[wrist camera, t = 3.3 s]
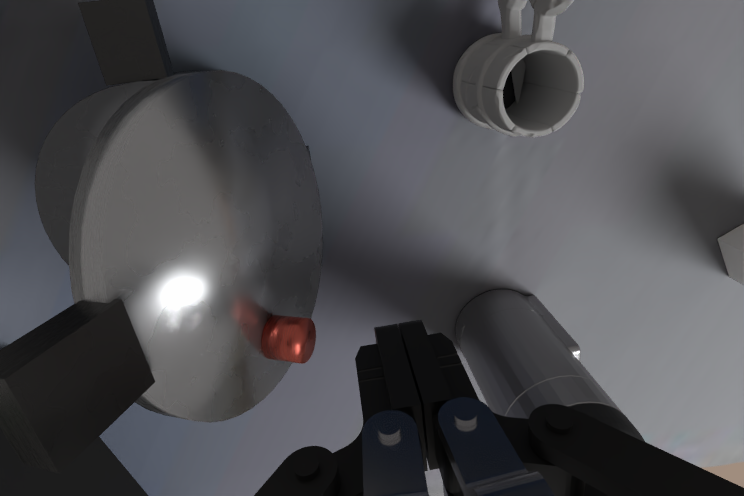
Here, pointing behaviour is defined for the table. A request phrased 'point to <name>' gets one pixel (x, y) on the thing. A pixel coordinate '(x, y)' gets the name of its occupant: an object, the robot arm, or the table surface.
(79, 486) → the binder
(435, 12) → the table surface
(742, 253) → the milk
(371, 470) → the robot arm
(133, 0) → the pot
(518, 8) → the mug
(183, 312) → the lid
